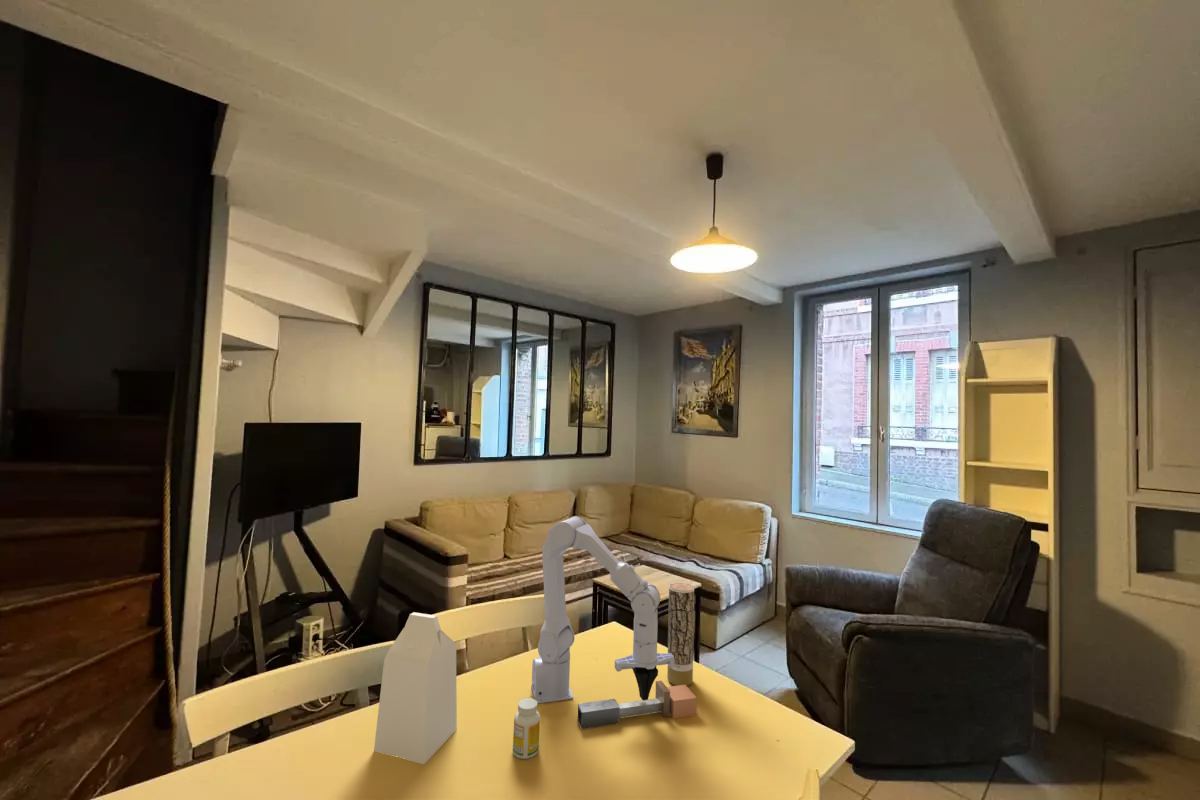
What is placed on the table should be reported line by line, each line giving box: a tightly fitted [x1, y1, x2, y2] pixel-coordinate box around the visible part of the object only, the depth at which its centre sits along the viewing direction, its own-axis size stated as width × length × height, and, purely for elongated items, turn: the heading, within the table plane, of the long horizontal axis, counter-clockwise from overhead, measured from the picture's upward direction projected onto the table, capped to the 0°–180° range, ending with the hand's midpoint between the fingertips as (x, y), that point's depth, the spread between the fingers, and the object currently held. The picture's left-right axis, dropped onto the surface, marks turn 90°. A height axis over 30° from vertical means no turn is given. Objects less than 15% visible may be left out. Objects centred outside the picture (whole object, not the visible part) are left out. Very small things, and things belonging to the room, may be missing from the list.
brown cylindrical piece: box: [666, 582, 695, 687], centre depth 129 cm, size 7×7×25 cm
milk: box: [373, 611, 458, 765], centre depth 102 cm, size 12×12×26 cm
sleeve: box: [577, 698, 621, 730], centre depth 110 cm, size 9×4×4 cm, turn 106°
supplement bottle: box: [512, 697, 541, 760], centre depth 99 cm, size 5×5×10 cm
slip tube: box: [618, 680, 671, 719], centre depth 112 cm, size 19×5×6 cm, turn 106°
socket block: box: [666, 685, 698, 720], centre depth 115 cm, size 6×6×4 cm
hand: (643, 697), depth 113 cm, fingers closed
